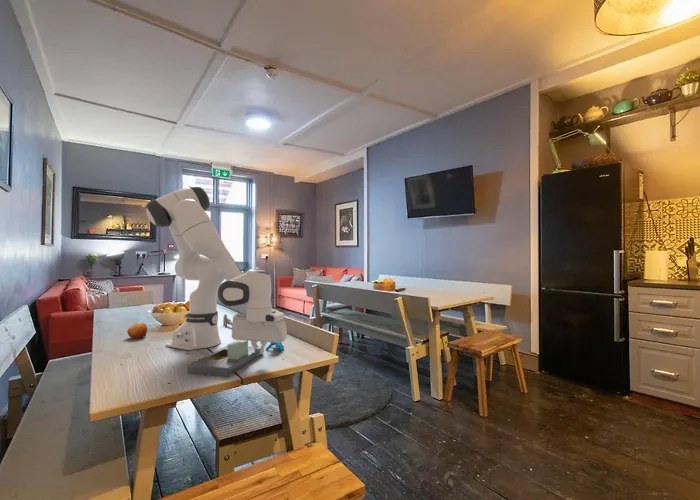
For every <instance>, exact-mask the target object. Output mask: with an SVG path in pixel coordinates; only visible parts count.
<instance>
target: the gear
mask: <svg viewBox="0 0 700 500" xmlns="http://www.w3.org/2000/svg"><path fill="white" fill-rule="evenodd" d="M273 346H274V347H275V348H277V349H278V350H280V351H284V350H285V346H284V345H283V342H282V343H277V342H270V344H269V345H268V346H267V347H266V348H265V351H269V350H270V348H272V347H273Z"/></svg>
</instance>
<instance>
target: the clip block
mask: <svg viewBox="0 0 700 500" xmlns="http://www.w3.org/2000/svg"><path fill="white" fill-rule="evenodd" d="M227 345H228V359H239V358H241V357H243V356H244V355H246V354H248V346H249V341H247V340H234V341H231V342H230V343H228V344H227Z"/></svg>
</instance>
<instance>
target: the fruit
mask: <svg viewBox="0 0 700 500" xmlns="http://www.w3.org/2000/svg"><path fill="white" fill-rule="evenodd" d="M126 333H127V335H128V336H129V337H130V338H131V339H135V340H138V339H142V338H144V337H147V333H148V327H147V324H145V323H144V322H136V323H134V324H131V325H130V326H128V328H127V331H126Z"/></svg>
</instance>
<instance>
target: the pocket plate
mask: <svg viewBox="0 0 700 500" xmlns="http://www.w3.org/2000/svg"><path fill="white" fill-rule="evenodd" d="M263 355H264V353H262V354H259V353H254V348H253V346H252V345H248V354H246V355H244V356H243V357H241V358H239V359H228V344H226V346H224V347H222V348H219V349H217V350H215V351H213V352H211V353H208V354H207V355H204V356H203V357H201V358H198V359H197V360H195V361H193V362H191V363H188V365H187V367H188V368H187V374H188V375H189V374H191V375H197V376H198V375H200V376H201V375H202V376H209V377H211V376H212V377H221V378H229V377H231V376H232V375H234V374H235V373H237V372H238V371H240V370H242V369H243V368H244V367H246V366H247V365H249V364H250V363H252V362H254V361H256V360H257V359H259V358H260V357H262V356H263Z"/></svg>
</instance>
